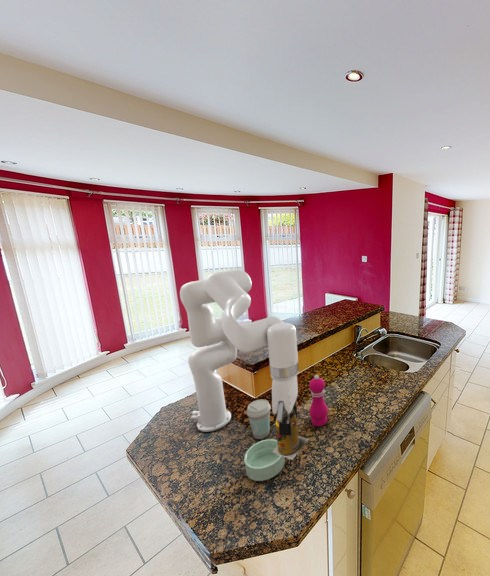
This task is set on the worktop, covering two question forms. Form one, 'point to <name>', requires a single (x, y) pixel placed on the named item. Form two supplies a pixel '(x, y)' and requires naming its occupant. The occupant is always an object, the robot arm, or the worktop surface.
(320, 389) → the pepper mill
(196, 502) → the worktop surface
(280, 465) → the bowl
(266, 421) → the coffee cup
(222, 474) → the worktop surface
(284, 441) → the condiment
